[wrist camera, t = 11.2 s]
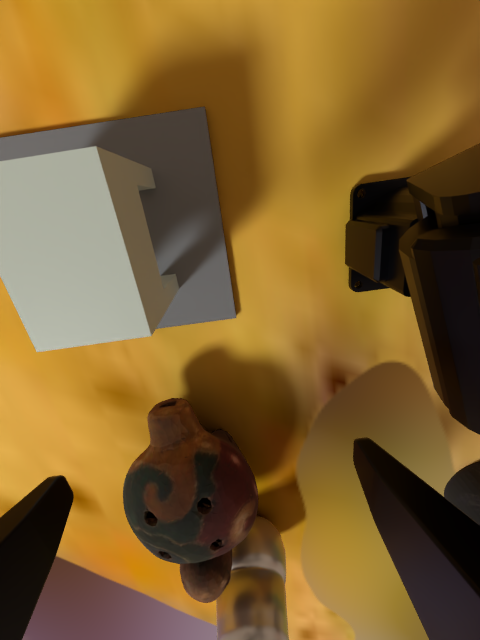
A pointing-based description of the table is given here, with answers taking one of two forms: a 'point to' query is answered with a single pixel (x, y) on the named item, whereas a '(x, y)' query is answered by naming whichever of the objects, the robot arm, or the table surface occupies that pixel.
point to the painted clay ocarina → (191, 498)
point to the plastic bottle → (255, 588)
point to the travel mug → (466, 491)
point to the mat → (163, 200)
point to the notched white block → (80, 248)
